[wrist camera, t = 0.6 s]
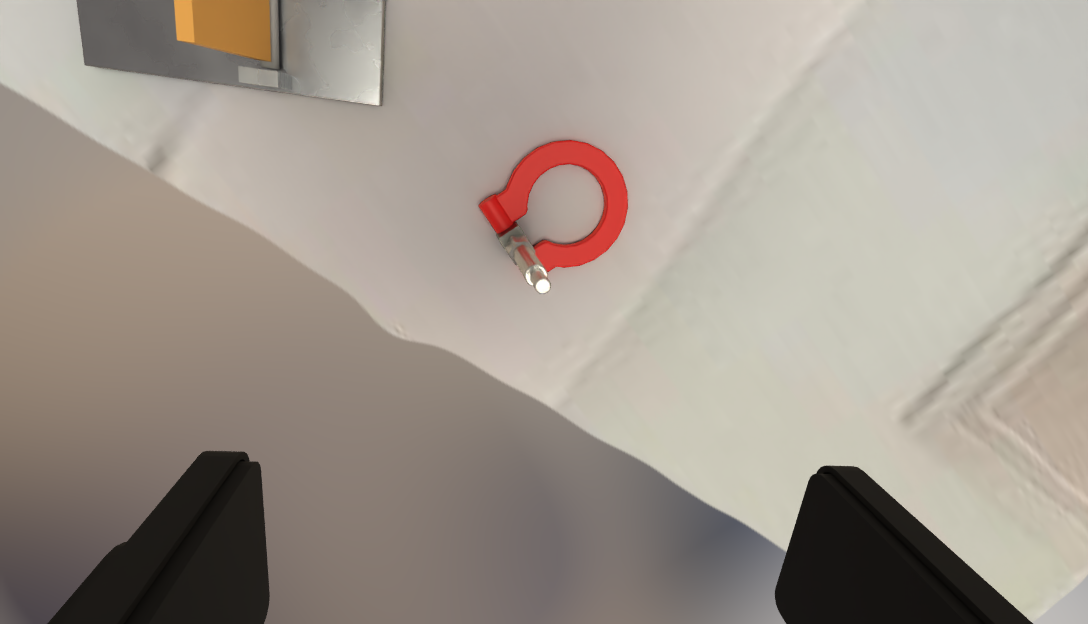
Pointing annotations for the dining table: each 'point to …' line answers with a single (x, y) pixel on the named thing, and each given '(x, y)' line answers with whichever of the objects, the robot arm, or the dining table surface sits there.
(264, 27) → the tab
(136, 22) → the plate
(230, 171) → the dining table surface
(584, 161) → the tow hook
